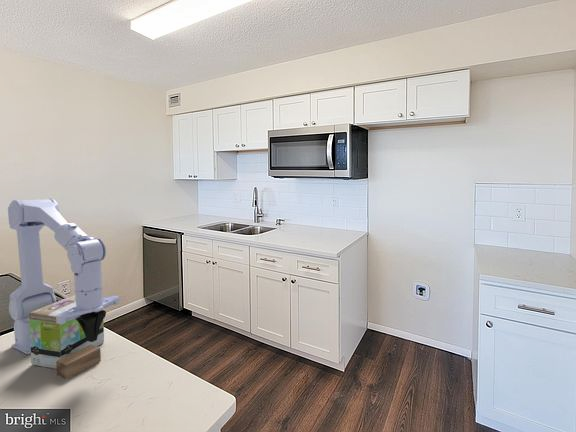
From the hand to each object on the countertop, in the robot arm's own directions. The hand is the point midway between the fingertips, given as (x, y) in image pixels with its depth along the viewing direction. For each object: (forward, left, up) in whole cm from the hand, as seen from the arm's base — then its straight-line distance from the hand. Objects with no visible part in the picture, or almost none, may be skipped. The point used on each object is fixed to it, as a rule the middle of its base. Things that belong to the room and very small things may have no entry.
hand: (91, 340), depth 81 cm
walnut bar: (-6, 0, -9) cm, 11 cm away
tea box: (-16, +3, -9) cm, 18 cm away
